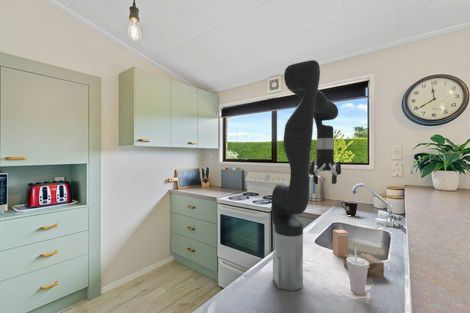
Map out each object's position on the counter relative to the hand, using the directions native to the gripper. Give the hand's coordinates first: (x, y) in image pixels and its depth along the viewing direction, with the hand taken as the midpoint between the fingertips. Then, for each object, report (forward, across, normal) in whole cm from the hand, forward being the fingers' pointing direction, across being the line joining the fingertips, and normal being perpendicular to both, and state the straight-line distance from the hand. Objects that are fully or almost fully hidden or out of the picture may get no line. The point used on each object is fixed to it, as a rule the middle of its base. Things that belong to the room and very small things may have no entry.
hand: (324, 184), depth 101 cm
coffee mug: (+30, +50, +56) cm, 81 cm away
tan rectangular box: (+30, +4, -6) cm, 31 cm away
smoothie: (+30, -6, -31) cm, 44 cm away
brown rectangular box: (+30, +4, -20) cm, 36 cm away
